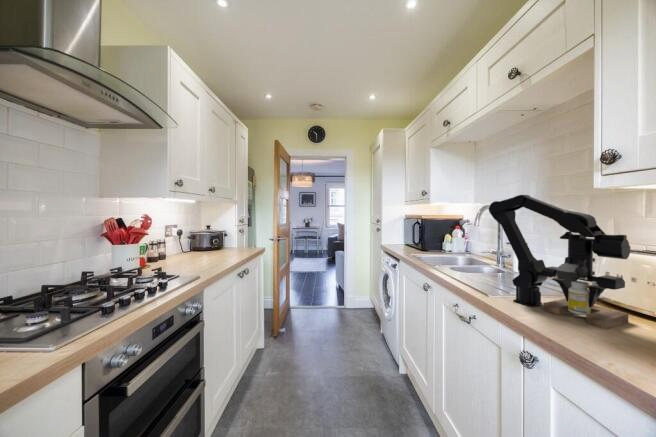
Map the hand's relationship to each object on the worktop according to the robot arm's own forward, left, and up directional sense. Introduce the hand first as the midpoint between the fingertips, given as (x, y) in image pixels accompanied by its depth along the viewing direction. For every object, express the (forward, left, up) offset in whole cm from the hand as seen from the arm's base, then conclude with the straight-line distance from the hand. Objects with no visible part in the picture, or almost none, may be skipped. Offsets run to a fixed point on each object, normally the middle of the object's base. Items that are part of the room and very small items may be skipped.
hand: (579, 304), depth 87 cm
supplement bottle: (0, 0, -3) cm, 3 cm away
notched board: (0, +2, -4) cm, 4 cm away
